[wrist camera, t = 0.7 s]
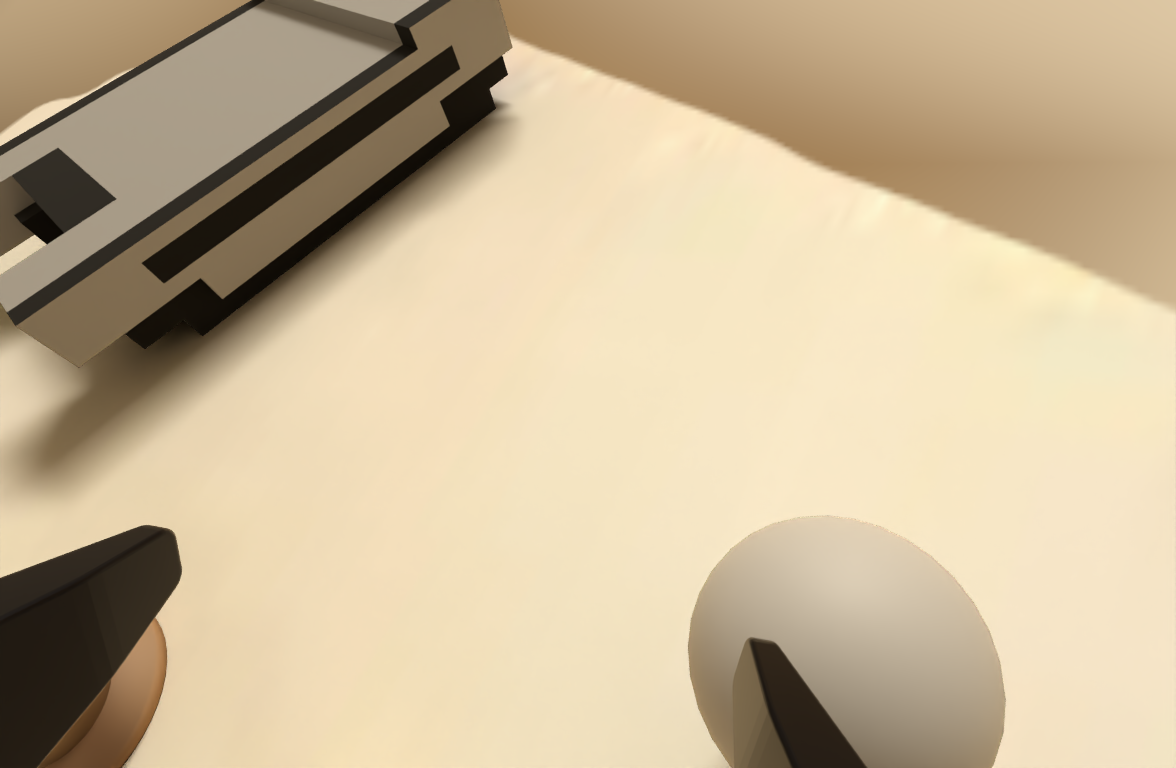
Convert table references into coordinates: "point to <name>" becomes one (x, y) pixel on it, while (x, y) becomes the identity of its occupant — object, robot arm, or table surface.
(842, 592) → the lightbulb
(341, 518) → the table surface
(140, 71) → the game console
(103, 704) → the bobbin
